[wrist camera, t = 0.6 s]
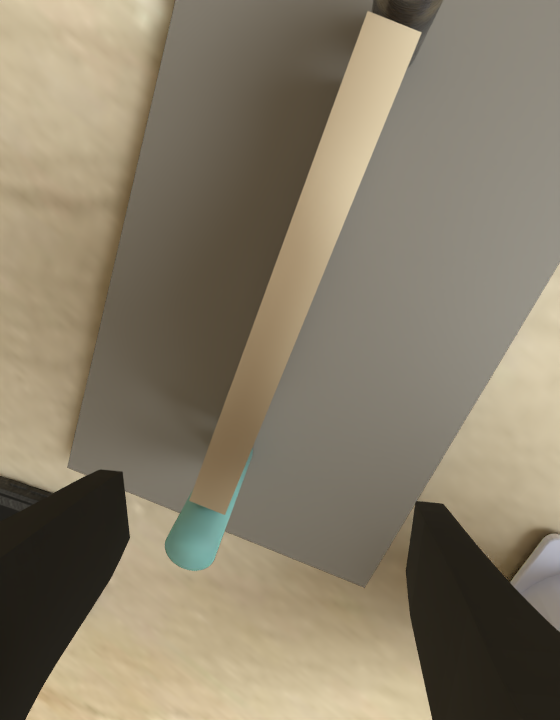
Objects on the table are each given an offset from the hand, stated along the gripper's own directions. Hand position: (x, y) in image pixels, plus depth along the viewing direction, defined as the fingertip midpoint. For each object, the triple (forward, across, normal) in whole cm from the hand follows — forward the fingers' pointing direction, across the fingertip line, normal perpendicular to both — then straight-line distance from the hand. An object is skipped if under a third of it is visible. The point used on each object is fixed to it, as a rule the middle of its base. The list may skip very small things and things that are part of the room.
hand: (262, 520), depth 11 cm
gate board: (+9, 0, -4) cm, 10 cm away
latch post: (+9, +3, +3) cm, 10 cm away
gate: (+7, 0, -5) cm, 9 cm away
